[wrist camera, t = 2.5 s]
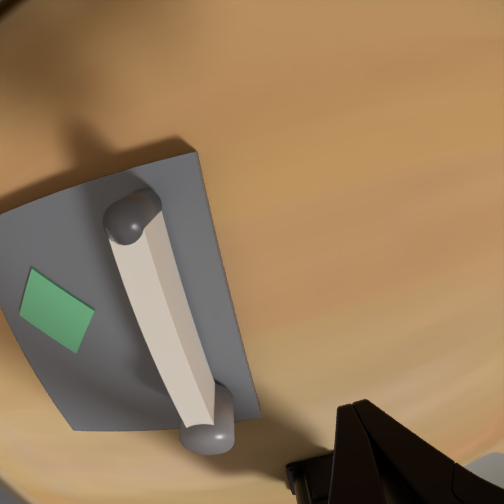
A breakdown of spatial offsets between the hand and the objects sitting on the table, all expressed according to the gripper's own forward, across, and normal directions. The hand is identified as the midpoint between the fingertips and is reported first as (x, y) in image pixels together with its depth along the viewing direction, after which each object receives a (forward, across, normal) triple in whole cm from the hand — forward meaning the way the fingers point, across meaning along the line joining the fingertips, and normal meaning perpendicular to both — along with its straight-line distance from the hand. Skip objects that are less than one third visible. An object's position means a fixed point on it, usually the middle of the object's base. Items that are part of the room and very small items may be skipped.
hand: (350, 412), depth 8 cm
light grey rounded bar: (+10, +6, +2) cm, 12 cm away
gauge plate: (+12, +12, +2) cm, 16 cm away
